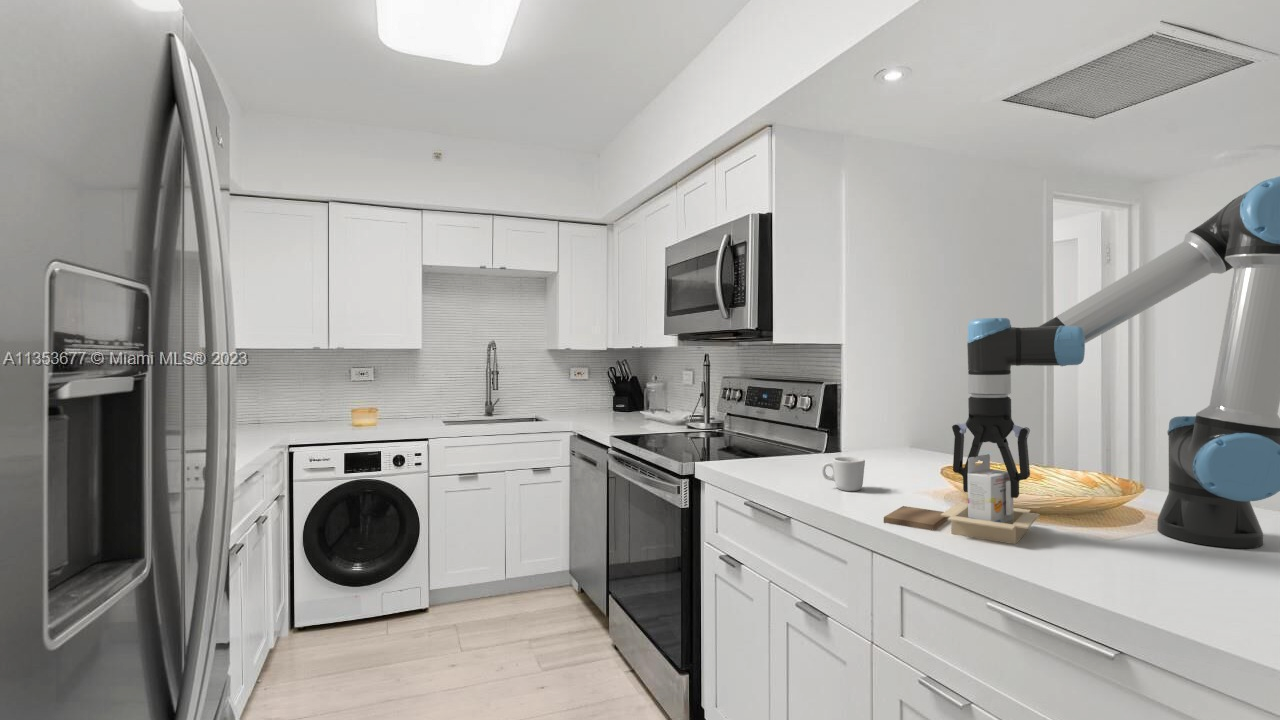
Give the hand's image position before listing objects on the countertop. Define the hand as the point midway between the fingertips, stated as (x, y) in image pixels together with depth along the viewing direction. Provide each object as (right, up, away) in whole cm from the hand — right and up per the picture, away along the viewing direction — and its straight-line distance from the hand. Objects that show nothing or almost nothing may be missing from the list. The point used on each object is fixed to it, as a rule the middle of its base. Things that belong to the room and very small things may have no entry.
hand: (990, 510), depth 129 cm
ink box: (0, -4, 0) cm, 4 cm away
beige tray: (0, -4, 0) cm, 4 cm away
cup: (-17, -4, +41) cm, 44 cm away
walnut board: (-11, -4, +9) cm, 15 cm away
